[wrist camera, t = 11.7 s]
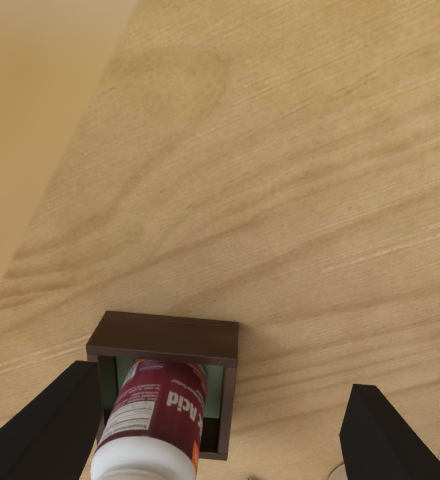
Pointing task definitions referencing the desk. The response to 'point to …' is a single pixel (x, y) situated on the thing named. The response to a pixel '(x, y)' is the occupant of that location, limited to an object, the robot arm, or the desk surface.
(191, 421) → the pill bottle
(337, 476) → the candle
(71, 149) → the desk surface
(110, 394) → the dark brown square box
